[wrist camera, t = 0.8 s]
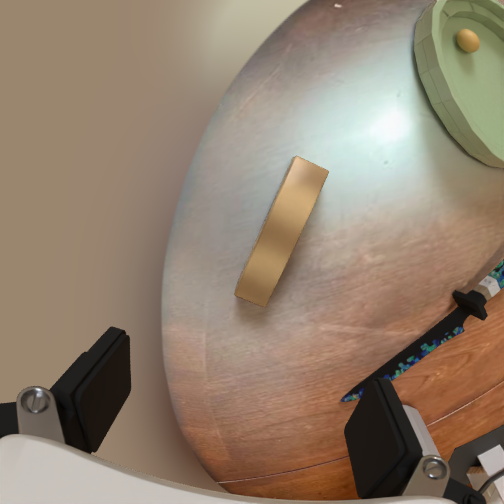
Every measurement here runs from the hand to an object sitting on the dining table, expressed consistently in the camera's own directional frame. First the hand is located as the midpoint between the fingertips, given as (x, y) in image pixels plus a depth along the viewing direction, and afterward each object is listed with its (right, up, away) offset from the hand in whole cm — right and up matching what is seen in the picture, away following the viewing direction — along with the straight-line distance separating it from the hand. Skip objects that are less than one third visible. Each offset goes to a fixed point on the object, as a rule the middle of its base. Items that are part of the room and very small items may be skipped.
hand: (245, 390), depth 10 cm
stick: (+3, +7, +17) cm, 19 cm away
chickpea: (+23, +28, +10) cm, 37 cm away
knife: (+22, -2, +19) cm, 29 cm away
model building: (+52, -41, +28) cm, 72 cm away
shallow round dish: (+27, +24, +11) cm, 38 cm away
